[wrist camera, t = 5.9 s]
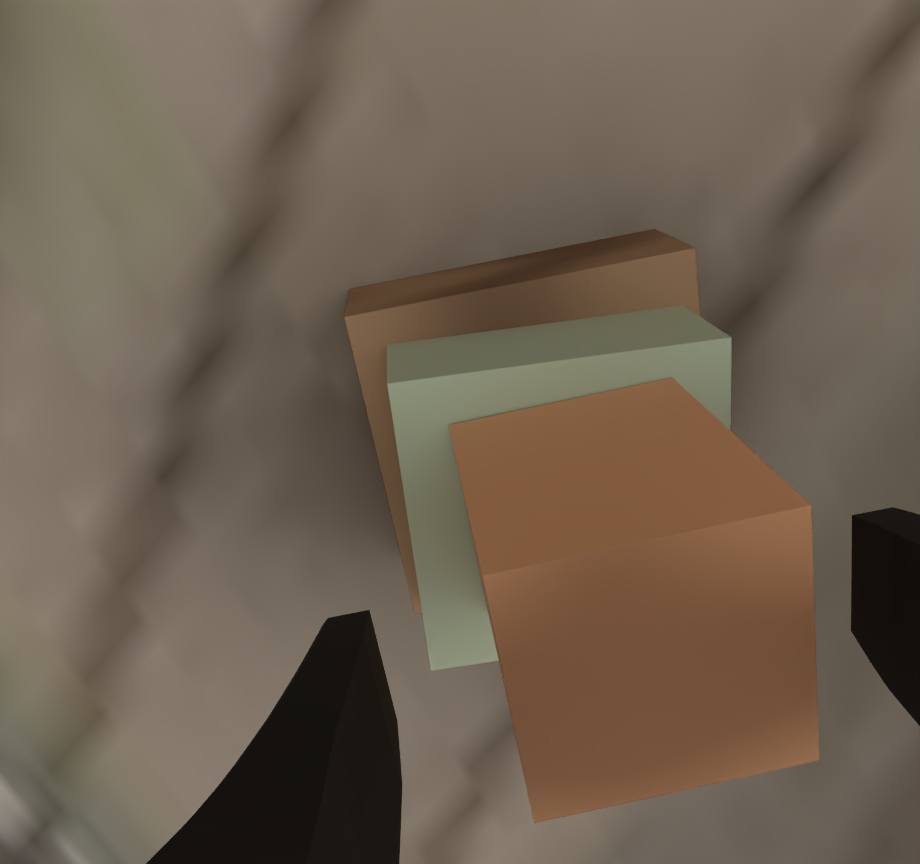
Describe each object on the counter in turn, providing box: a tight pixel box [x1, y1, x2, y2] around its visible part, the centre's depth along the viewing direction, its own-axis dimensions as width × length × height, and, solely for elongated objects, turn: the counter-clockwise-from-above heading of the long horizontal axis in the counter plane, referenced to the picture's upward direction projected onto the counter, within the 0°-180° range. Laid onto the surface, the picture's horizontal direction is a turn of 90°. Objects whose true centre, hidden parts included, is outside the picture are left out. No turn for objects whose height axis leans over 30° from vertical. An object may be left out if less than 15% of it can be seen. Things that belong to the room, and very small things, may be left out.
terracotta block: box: [449, 378, 819, 823], centre depth 13 cm, size 4×4×5 cm
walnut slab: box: [344, 229, 700, 614], centre depth 19 cm, size 7×7×3 cm
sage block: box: [387, 306, 731, 671], centre depth 17 cm, size 6×6×2 cm
